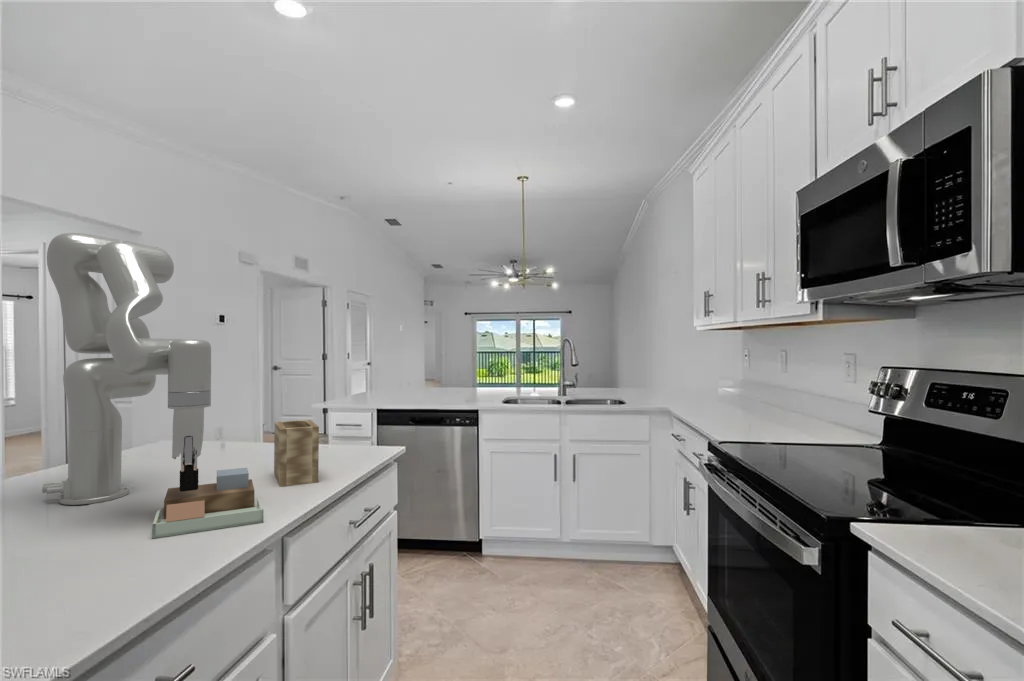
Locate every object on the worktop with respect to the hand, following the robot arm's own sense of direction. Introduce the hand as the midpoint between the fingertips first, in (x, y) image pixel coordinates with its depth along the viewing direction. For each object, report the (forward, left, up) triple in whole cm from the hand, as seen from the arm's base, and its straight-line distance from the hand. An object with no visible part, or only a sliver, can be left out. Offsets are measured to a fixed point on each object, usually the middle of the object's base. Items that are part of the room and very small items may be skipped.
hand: (189, 489), depth 106 cm
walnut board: (+4, +3, -5) cm, 7 cm away
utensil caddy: (+23, +21, -5) cm, 31 cm away
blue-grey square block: (+8, +4, -1) cm, 9 cm away
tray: (+4, -7, -5) cm, 10 cm away
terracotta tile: (0, -8, -1) cm, 8 cm away
